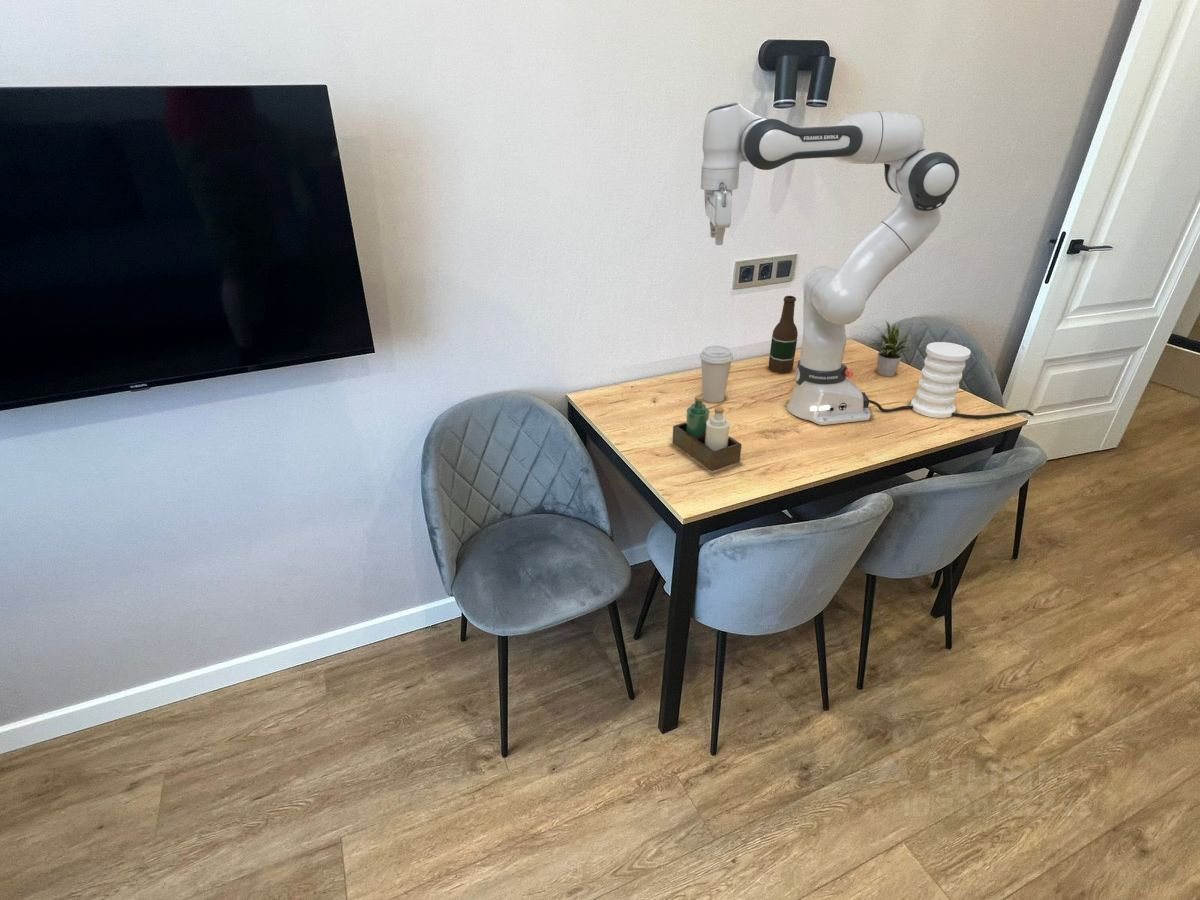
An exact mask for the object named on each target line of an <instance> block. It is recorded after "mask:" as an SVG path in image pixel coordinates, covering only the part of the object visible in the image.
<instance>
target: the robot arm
mask: <svg viewBox="0 0 1200 900" xmlns="http://www.w3.org/2000/svg"><path fill="white" fill-rule="evenodd" d="M702 131H703V132H702V144H701V146H702V148H701V149H702V152H703V159H702V163H701V168H700V169H701V171H700V172H701V173H700V189H701V190H703V191H704V210H705V211H704V212H705V215H706V216H707V218H708V220H709V236H710V238H712V239H714V244H715V245H716V246H723V244H724V237H725V233H726V229H729V228H730V227H731V223H732V207H733V206H732V205H733V203H732V202H733V201H732V200H733V199H732V198H733V197H732V196H733V191H734V190H737V189H738V188H739V179H740V178H739V177H740V165H741V163H744V162H745V163H746V162H748V163H749V164H750V165H751V166H753V167H754V168H756V169H758V170H761V171H769V170H774V169H777V168H779V167H781V166H783V165H785V164H787V163H789V162H791V161H795V160H806V159H809V160H810V159H824V158H825V159H828V158H829V159H834V160H837V161H839V162H842V163H846V164H852V165H876V164H877V165H878V164H883V165H884V173H883V174H884V175H883V177H884V181H885V184H886V186H887V187H888V188H889V189H890V190H891V191H892V192H893V193H895V194H898V195H899V196H900V197H899V200H898V202H897V204H896V206H895V207H894V209H893V210H892V211H891V212H890V213H889V214H888V215H886V216H885V217H884V218H883V219H882V220H881V221H880V222H878V223H877V224H876V225H875V226H874V227H872V229H871V230H869V232H868V233H866V234H865V235H864V236H863V237H862V238H861V239H860V240H859V241H857V242H856V244H854V246H853V248H852V251H851V253H850V255H849V257H848V258H847V260H846V261H845V263H843V265H842V266H841V267H840V269H837V268H836V267H834V266H828V265H819V266H816V267H813V268H812V269H810V270H809V271H808V272H807V273H806V275H805V276H804V278H803V281H802V293H803V294H802V295H803V303H802V304H803V306H802V309H803V311H802V312H803V313H802V314H803V315H802V317H803V318H802V319H803V332H802V334H803V335H802V341H801V350H800V357H799V360H798V361H797V365H796V369H795V376H794V378H795V379H794V380H795V383H794V386H793V390H792V393H791V396H790V399H789V401H788V402H787V404H786V409H787V411H788V412H789V413H790V414H791V415H793V416H795V417H797V418H800V419H802V420H807V421H810V422H812V423H814V424H816V425H819V426H827V425H835V424H836V425H837V424H843V423H844V424H845V423H855V422H864V421H869V420H870V419H871V414H872V413H871V409H870V408H869V405H870V404H871V405H874V406H876V407H877V409H878V410H880V412H883V413H891V412H897V411H901V410H906V409H907V410H908V409H911V410H913V406H910V405H902V406H897V407H894V408H889V409H888V408H883V407H882V405H881V404H879V403H878V402H877V401H875V400H872V399H869V397H868V395H867V394H866V392H865V391H863V392H862V390H861V389H860V388H859V387H858V386H857V385H856V384H855V383H854V382H853V381H852V380H850V379H851V378H853V377H854V375H855V373H854V371H852V369H850V368H848V366H847V365H845V364H844V363H843V359H844V355H845V350H846V343H847V333H846V325H850V324H853V323H854V322H855V321H857V320H858V319H860V317H861V316H862V314H863V313H864V311H865V308H866V304H867V302H868V300H869V298H870V297H871V295H873V293H874V292H875V290H876V289H877V288H878V286H879V285H880V284H881V283H882V282H883V280H884V279H885V278H886V277H887V276H888V275H890V273H892V271H894V270H895V269H896V268H897V267H898V266H899V265H900V264H902V263H903V262H904V261H905V260H906V259H908V257H909V256H910V255H912V254H913V253H914V252H915V251H916V250H917V249H918V248H919V247H920V246H921V245H922V244H923V243H924V242H925V241H926V240H927V239H928V238H929V237H930V236H931V235H932V234H933V232H935V230H936V229H937V227H938V226H939V225H940V223H941V220H942V214H941V210H940V208H941V207H942V206H943V205H945V203H946V201H947V200H948V197H949V196H950V195H951V194H952V193H953V191H954V189H955V188H956V186H957V184H958V181H959V178H960V168H959V165H958V163H957V161H956V159H954V158H953V157H952V156H950V155H949V153H945V152H943V151H939V150H936V149H932V148H926V147H925V144H924V139H925V125H924V122H923V120H922V119H921V118H920V116H919V115H917V114H915V113H909V112H903V111H893V110H869V111H862V112H857V113H853V114H849V115H845V116H844V117H842V118H841V119H840V120H839V122H838V123H836V124H831V125H826V126H824V125H823V126H804V127H803V126H802V127H799V126H792V125H790V124H789V123H786V122H784V121H782V120H780V119H777V118H764V117H762V116H759V115H757V114H755V113H753V112H751V111H749V110H748V109H746V108H745V107H743V106H742V105H741V104H740V103H739V102H730V103H724V104H720V105H716V106H714V107H712V108H711V109H709V110H708V111H707V113H706V115H705V119H704V125H703V130H702ZM1016 414H1017V415H1018V414H1027V415H1029V416H1030V417H1034V416H1035V414H1034V413H1033V412H1032V411H1030V410H1028V409H1019V410H1013V411H1009V412H1008V411H1007V412H998V413H991V414H965V413H959V412H955V413H952V414H951V415H952V416H953V417H959V418H969V419H989V418H995V417H1004V416H1005V417H1006V416H1012V415H1016ZM952 416H951V417H952Z"/></svg>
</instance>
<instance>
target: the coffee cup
mask: <svg viewBox="0 0 1200 900" xmlns="http://www.w3.org/2000/svg"><path fill="white" fill-rule="evenodd" d="M699 359H700V360H701V361H700V363H701V394H702V395H701V396H703V401H705V402H707V403H715V404H716V403H721V402H723V401H724V400H725V397H726V391H727V385H728V382H729V381H728V380H729V375H730V370H731V365H732V361H733V360H734V355H733V353H732V350H731V348H730V347H727V346H724V345H708V346H705V347H704V348H703V349H702V351H701V352H700V354H699Z"/></svg>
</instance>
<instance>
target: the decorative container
mask: <svg viewBox="0 0 1200 900" xmlns="http://www.w3.org/2000/svg"><path fill="white" fill-rule="evenodd" d="M925 353H926V357H925V358H924V360H923V361H924V366H923V367H922V369H921V377H920V378H919V380H918V388H917V389H916V392H915V393H916V394H915V395H916V397H913V398H911V401H910V404H909V406H913V409H912V411H914V412H915V413H917V414H919V415H922V416H926V417H930V418H934V419H935V418H938V419H945V418H950V417H952V415H951V414H952V413H956V408H957V407H956V405H955V404H954V403H955V402H956V399H957V392H958V391H959V389H960V382H961V380H962V379H963V371H964V370H965V368H966V364H967V363H966V360H969V359H970V358H971V357H970V356H971V354H972V351H971V349H969V348H968V347H966V346H964V345H962V344H958V343H954V342H945V341H935V342H929V343H927V345H926V347H925Z"/></svg>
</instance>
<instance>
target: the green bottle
mask: <svg viewBox="0 0 1200 900" xmlns="http://www.w3.org/2000/svg"><path fill="white" fill-rule="evenodd" d="M703 401H704V399H703V396H702V395H701V394H697V395H695V396H694V403H691V405H690V406H689V407H688V408H687V409H686V416H685V418H686V419H685V422H686V432H687V433H688V434H690V435H691V436H693V437H694V438H695V437H698V436H701V435H704V434H705V432H706V422H707V420H709V419H710V409H709V408H707V405H705V404H704V403H703Z"/></svg>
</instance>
